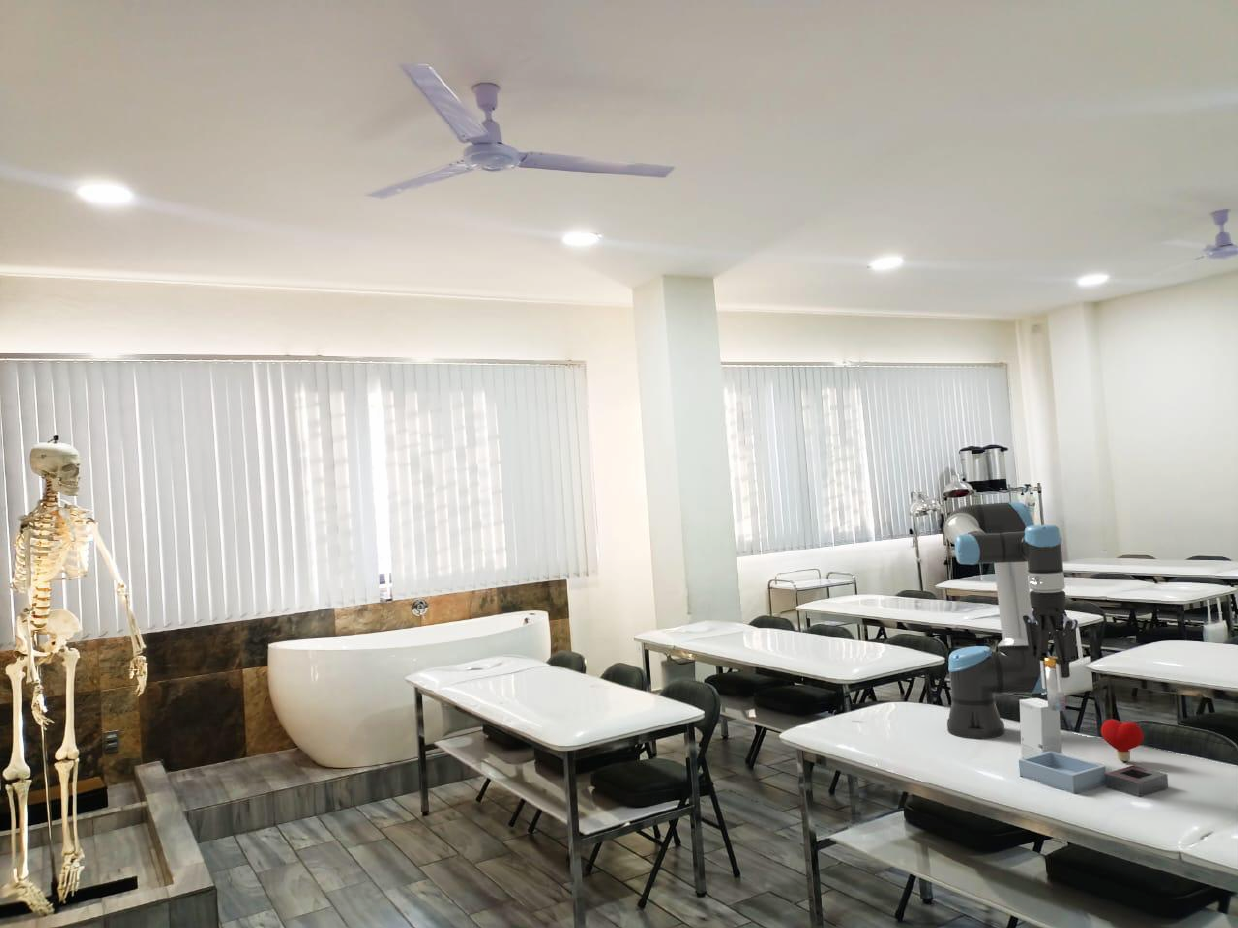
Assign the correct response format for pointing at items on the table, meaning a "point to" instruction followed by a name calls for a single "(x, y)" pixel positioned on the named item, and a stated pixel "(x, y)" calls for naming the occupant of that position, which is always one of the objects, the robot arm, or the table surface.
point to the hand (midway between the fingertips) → (1055, 689)
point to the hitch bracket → (1136, 780)
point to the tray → (1062, 771)
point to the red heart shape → (1122, 737)
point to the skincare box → (1039, 728)
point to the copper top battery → (1053, 685)
